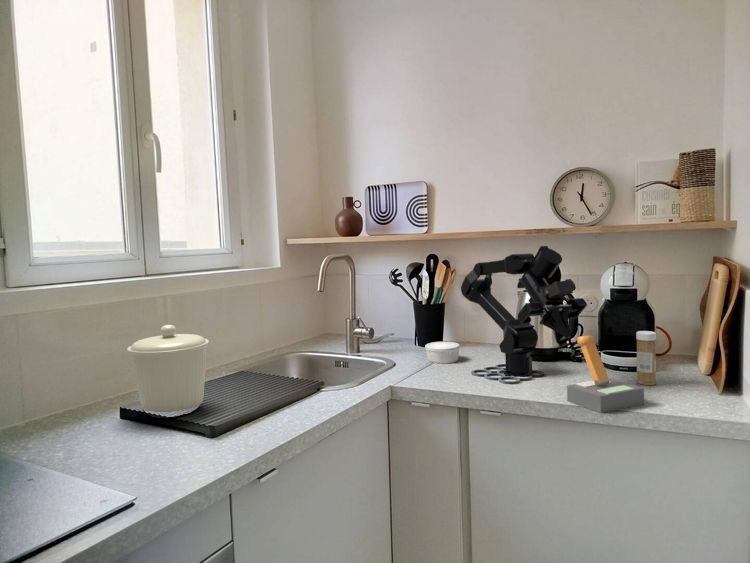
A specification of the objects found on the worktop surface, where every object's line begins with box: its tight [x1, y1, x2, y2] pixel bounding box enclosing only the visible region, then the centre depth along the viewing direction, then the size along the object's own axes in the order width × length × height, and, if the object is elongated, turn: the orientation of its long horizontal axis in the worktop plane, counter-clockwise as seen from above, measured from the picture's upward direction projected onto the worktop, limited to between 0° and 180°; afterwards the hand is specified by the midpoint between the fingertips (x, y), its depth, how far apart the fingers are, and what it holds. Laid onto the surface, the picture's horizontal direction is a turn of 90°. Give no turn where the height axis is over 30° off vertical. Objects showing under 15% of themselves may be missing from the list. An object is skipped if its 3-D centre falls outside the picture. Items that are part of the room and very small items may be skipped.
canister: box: [126, 324, 210, 412], centre depth 124 cm, size 18×18×21 cm
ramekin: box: [424, 341, 461, 365], centre depth 168 cm, size 11×11×5 cm
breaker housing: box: [566, 377, 645, 414], centre depth 120 cm, size 10×13×4 cm
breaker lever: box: [576, 334, 609, 386], centre depth 122 cm, size 2×3×12 cm
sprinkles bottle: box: [635, 330, 657, 386], centre depth 134 cm, size 5×5×14 cm
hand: (569, 337), depth 129 cm, fingers closed
